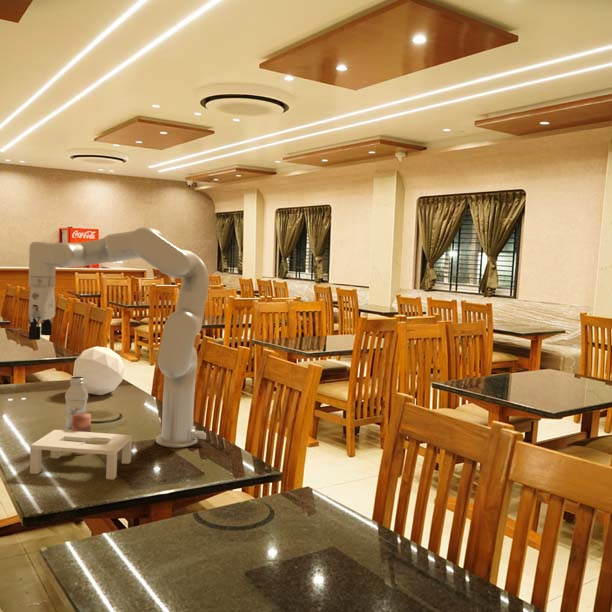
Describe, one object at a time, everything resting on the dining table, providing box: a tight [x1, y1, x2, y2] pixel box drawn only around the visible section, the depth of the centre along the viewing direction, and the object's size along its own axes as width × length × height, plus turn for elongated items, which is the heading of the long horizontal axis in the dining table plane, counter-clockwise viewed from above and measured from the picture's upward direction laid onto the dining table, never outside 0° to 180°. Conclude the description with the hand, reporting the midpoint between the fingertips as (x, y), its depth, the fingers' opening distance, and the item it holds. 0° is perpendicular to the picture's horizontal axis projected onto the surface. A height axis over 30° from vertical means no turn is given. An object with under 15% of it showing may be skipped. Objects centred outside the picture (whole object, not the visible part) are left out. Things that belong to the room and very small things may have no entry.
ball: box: [72, 346, 125, 396], centre depth 244 cm, size 19×20×20 cm
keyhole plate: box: [29, 429, 133, 480], centre depth 164 cm, size 22×14×8 cm, turn 88°
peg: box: [72, 412, 92, 456], centre depth 175 cm, size 5×5×11 cm
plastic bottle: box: [63, 376, 89, 442], centre depth 182 cm, size 6×7×20 cm
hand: (40, 337), depth 188 cm, fingers open, 9 cm apart
